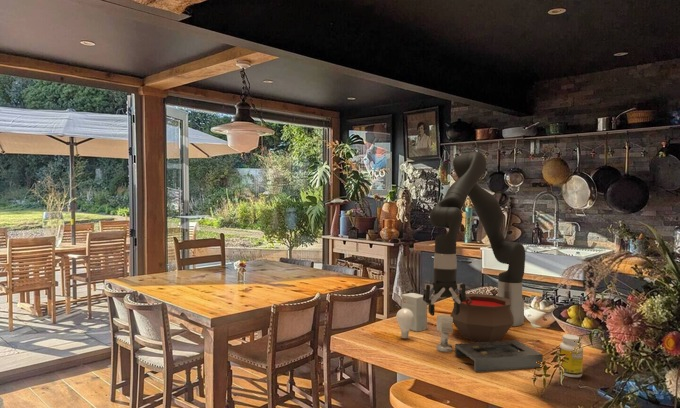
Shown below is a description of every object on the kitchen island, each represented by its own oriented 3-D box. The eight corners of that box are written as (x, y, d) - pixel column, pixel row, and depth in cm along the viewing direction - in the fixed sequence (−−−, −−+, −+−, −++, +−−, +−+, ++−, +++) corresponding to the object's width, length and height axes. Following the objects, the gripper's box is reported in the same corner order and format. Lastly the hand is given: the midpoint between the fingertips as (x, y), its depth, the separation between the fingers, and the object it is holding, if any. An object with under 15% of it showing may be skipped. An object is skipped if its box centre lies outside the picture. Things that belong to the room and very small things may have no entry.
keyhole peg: (448, 347, 160) (448, 313, 159) (454, 352, 155) (454, 317, 154) (434, 348, 159) (434, 314, 158) (440, 353, 154) (440, 318, 153)
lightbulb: (415, 337, 170) (416, 307, 170) (410, 342, 164) (411, 311, 164) (399, 335, 173) (399, 305, 173) (393, 339, 167) (393, 309, 167)
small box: (427, 329, 181) (427, 295, 181) (416, 332, 177) (416, 298, 177) (411, 324, 187) (412, 292, 187) (400, 327, 183) (401, 294, 183)
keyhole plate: (516, 352, 155) (516, 339, 155) (542, 367, 142) (542, 353, 142) (454, 356, 151) (455, 343, 151) (475, 372, 137) (475, 358, 137)
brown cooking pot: (498, 352, 155) (499, 303, 155) (435, 336, 172) (436, 292, 171) (526, 336, 173) (527, 292, 173) (466, 323, 189) (467, 283, 189)
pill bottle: (554, 370, 140) (555, 333, 139) (574, 369, 140) (575, 333, 140) (566, 378, 133) (567, 340, 133) (587, 377, 134) (587, 339, 134)
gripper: (459, 264, 161) (458, 311, 161) (420, 265, 158) (419, 312, 159) (470, 268, 154) (468, 316, 154) (429, 268, 151) (428, 318, 151)
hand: (444, 314), depth 156 cm, fingers open, 8 cm apart
